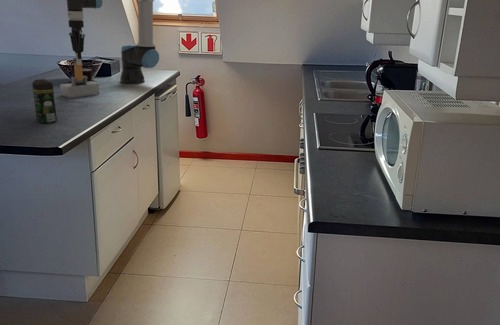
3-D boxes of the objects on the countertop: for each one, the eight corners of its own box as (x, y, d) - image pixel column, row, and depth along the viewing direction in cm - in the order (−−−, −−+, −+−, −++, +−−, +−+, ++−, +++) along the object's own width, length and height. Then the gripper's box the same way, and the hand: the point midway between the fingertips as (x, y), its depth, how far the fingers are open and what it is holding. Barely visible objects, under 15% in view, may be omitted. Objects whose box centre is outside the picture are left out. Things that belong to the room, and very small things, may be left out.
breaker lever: (74, 83, 272) (72, 58, 267) (82, 82, 274) (80, 57, 270) (76, 84, 270) (74, 58, 265) (84, 83, 273) (82, 58, 268)
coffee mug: (95, 85, 300) (93, 69, 297) (89, 88, 292) (88, 71, 289) (76, 84, 301) (75, 68, 298) (70, 87, 293) (69, 70, 290)
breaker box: (61, 95, 271) (59, 77, 268) (91, 91, 283) (89, 74, 280) (68, 98, 265) (66, 79, 262) (99, 94, 277) (97, 76, 274)
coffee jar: (34, 120, 222) (29, 78, 215) (52, 117, 226) (48, 77, 220) (40, 124, 214) (35, 82, 208) (59, 122, 219) (54, 81, 213)
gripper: (63, 19, 261) (67, 64, 269) (74, 20, 253) (78, 66, 260) (76, 19, 266) (79, 63, 274) (88, 20, 258) (91, 65, 265)
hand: (79, 64), depth 267 cm, fingers closed
